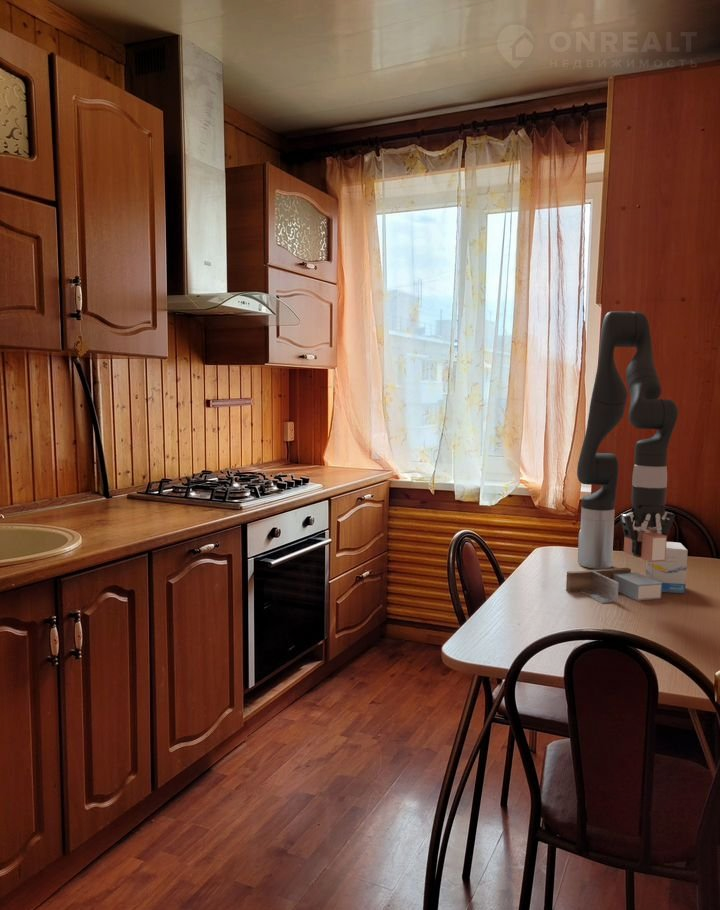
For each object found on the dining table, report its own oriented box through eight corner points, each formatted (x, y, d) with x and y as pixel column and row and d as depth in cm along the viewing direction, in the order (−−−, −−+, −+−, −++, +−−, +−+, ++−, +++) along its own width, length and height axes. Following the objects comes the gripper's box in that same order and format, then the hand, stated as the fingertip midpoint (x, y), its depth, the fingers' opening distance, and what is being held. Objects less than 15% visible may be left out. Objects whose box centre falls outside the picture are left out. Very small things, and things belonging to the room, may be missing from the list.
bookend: (579, 591, 181) (580, 572, 180) (594, 590, 182) (594, 571, 181) (602, 603, 171) (603, 583, 170) (617, 602, 172) (618, 582, 171)
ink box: (686, 593, 180) (688, 549, 178) (651, 591, 181) (653, 547, 180) (677, 584, 188) (680, 541, 187) (644, 582, 190) (646, 539, 188)
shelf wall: (566, 590, 181) (566, 571, 181) (626, 585, 186) (627, 567, 185) (569, 592, 180) (570, 573, 179) (629, 587, 184) (630, 569, 184)
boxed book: (623, 551, 171) (624, 527, 170) (637, 550, 172) (639, 526, 171) (650, 562, 161) (652, 536, 160) (665, 561, 162) (667, 535, 161)
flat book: (612, 588, 183) (613, 574, 183) (635, 587, 185) (636, 572, 184) (637, 600, 173) (637, 584, 173) (661, 598, 175) (662, 583, 175)
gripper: (664, 481, 169) (660, 550, 171) (613, 482, 166) (609, 553, 168) (686, 485, 162) (681, 558, 164) (633, 487, 159) (629, 561, 160)
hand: (645, 555), depth 166 cm, fingers closed on boxed book, 4 cm apart
